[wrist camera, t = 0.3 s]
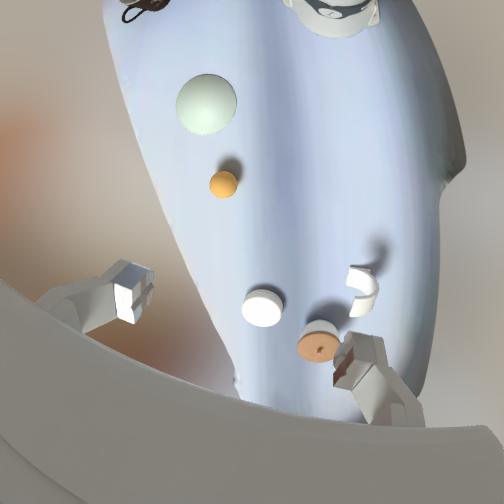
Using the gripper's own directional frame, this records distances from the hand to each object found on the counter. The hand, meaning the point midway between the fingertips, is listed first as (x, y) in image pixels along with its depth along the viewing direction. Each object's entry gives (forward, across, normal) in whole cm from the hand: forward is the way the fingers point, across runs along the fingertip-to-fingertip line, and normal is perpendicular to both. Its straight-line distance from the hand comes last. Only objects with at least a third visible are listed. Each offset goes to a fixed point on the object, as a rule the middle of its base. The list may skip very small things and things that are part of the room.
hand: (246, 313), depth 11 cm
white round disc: (+47, -2, +38) cm, 61 cm away
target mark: (+47, +21, -5) cm, 51 cm away
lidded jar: (+47, -18, +40) cm, 65 cm away
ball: (+44, +13, +10) cm, 47 cm away
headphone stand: (+47, -21, +22) cm, 56 cm away
